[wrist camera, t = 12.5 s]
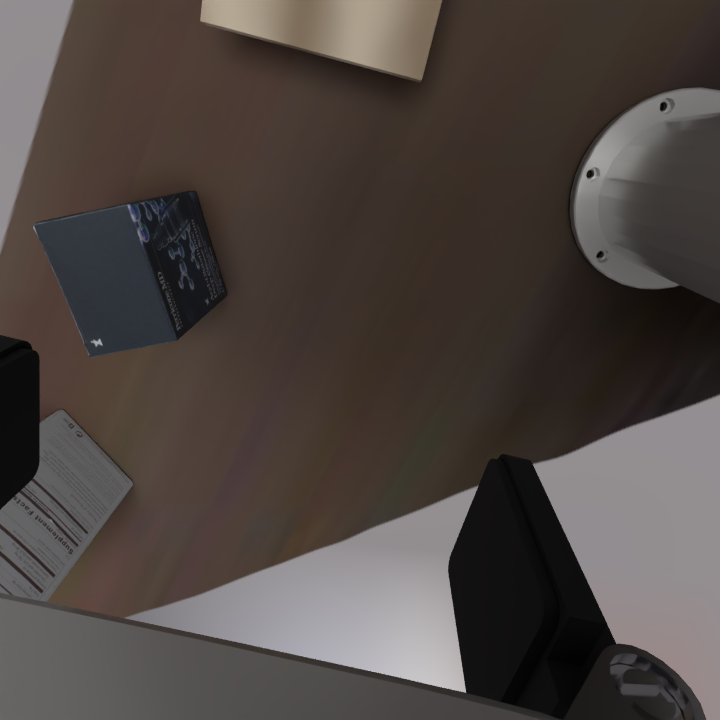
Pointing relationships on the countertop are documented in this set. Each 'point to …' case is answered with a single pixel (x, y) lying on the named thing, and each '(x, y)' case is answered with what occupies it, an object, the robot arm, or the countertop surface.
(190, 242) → the box
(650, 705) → the robot arm
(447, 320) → the countertop surface
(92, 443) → the supplement box
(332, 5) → the lid
